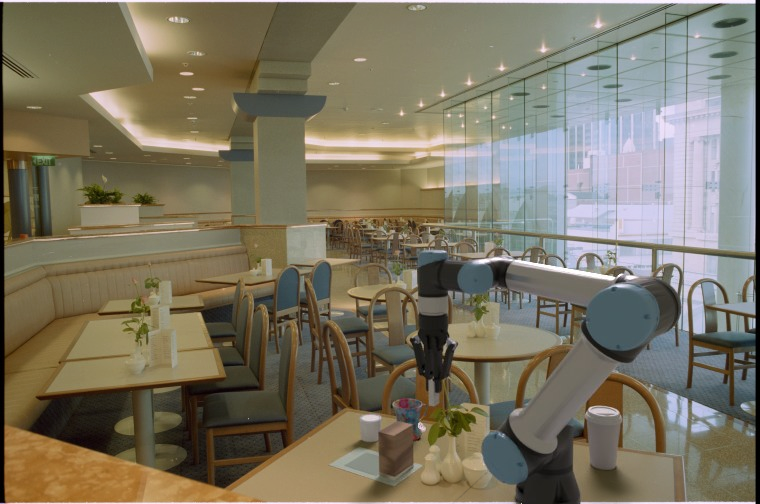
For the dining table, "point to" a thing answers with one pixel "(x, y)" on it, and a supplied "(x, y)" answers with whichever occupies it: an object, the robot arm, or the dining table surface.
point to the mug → (409, 413)
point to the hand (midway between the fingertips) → (434, 404)
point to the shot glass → (370, 427)
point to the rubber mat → (367, 465)
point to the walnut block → (395, 450)
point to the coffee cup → (603, 436)
